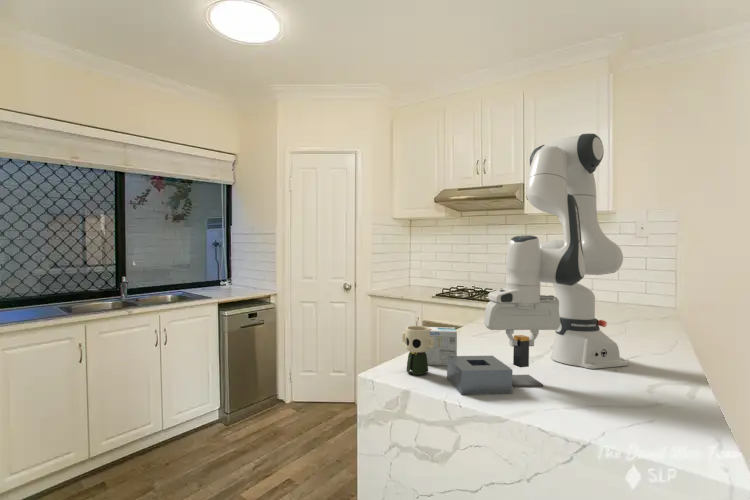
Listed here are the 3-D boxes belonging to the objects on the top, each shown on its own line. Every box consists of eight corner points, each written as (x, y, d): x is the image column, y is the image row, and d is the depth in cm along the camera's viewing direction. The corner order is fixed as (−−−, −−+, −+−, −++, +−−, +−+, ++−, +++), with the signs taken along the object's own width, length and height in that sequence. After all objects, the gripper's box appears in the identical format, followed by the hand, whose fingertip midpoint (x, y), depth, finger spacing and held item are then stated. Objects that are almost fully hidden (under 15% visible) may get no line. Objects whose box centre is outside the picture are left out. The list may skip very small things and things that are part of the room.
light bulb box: (455, 360, 131) (455, 326, 131) (457, 366, 125) (457, 331, 125) (421, 359, 133) (422, 325, 132) (422, 365, 126) (422, 330, 126)
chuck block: (485, 371, 120) (485, 350, 120) (512, 393, 102) (512, 369, 102) (442, 372, 119) (442, 351, 119) (461, 394, 101) (461, 370, 101)
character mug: (394, 371, 119) (395, 327, 118) (409, 366, 124) (409, 323, 124) (426, 380, 112) (426, 332, 111) (440, 374, 117) (440, 329, 117)
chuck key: (528, 366, 111) (529, 336, 111) (520, 367, 110) (520, 337, 110) (521, 363, 113) (522, 334, 113) (513, 364, 112) (513, 335, 112)
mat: (528, 376, 116) (528, 374, 116) (542, 386, 108) (542, 384, 108) (501, 377, 115) (501, 375, 115) (513, 387, 107) (513, 384, 107)
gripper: (553, 294, 115) (552, 343, 115) (482, 293, 113) (481, 343, 113) (565, 296, 109) (564, 348, 109) (491, 296, 107) (490, 349, 107)
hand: (521, 346), depth 111 cm, fingers closed on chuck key, 3 cm apart
